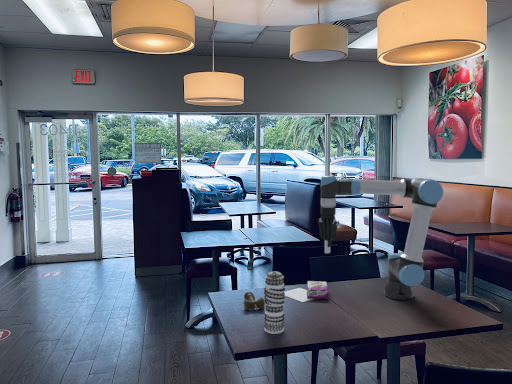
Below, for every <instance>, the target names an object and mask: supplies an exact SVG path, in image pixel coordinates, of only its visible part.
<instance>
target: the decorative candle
mask: <svg viewBox="0 0 512 384" xmlns="http://www.w3.org/2000/svg"><path fill="white" fill-rule="evenodd" d="M264 277H265V286H264V287H263V292H264V293H263V295H264V296H263V299H264V304H265V308H264V310H265V311H264V317H263V319H264V321H263V322H264V324H263V325H264V329H263V330H264V331H265V333H267V334H274V335H275V334H277V335H278V334H281V333H283V332H284V330H285V329H284V328H285V321H284V320H285V314H284V305H285V300H284V299H285V298H286V296H284V295H285V293H284V292H285V291H286V288H285V287H286V285H285V282H284V278H285V276H284V275H283V274H282V273H281V272H280V271H269V272H268V273H266V274H265V276H264Z"/></svg>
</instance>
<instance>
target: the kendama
mask: <svg viewBox="0 0 512 384" xmlns="http://www.w3.org/2000/svg"><path fill="white" fill-rule="evenodd" d="M243 298H244V301H243V307H244V311H245V312H248V311H249V310H252V309H256V310H257V309H260V310H263V311H264V310H265V308H266V304H265V302H264V301H265V299H264V296H263V297H262V296H261V297H260V298H259V299H257V300H256V297H255V296H254V293H253V292H251V291H247V292H245V293H244V295H243Z"/></svg>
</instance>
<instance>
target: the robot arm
mask: <svg viewBox="0 0 512 384" xmlns="http://www.w3.org/2000/svg"><path fill="white" fill-rule="evenodd" d="M360 194H363V195H365V194H366V195H384V196H385V195H386V196H388V195H389V196H399V197H400V198H407V199H411V205H412V206H413V210H412V215H411V219H410V223H409V227H408V232H407V237H406V240H405V241H406V242H405V247H404V251H403V253H398V252H397V253H395V252H394V253H390V254H389V255H388V258H387V282H386V284H385V287H384V289H383V295H384V297H386V296H387V298H389V299H393V300H397V299H399V300H398V301H407V300H406V299H409V300H412V299H413V298H414V291H413V287H416V286H418V285H420V284H422V282H423V281H424V279H425V270H424V269H423V267H424V258H423V257H422V256H423V252H424V248H425V243H426V239H427V234H428V230H429V225H430V221H431V217H432V213H433V211H434V210H436V209H437V206H438V202H440V201H441V200H442V198H443V196H444V189H443V186H442V184H441V183H440V182H438V181H437V180H434V179H432V178H423V177H420V178H411V179H409V178H408V179H407V178H405V179H403V178H401V179H400V180H382V179H361V178H360V179H358V178H356V179H355V178H343V177H342V178H339V179H337V177H336V175H335V176H334V175H323V176H321V178H320V218H318V219H316V221H317V224H318V230H319V231H318V232H319V235H320V239H322V240H323V246H324V254H330V253H331V247H332V241H333V240H335V239H336V236H337V235H336V234H337V230H338V226H339V224H340V221H339V220H336V210H337V209H336V205H337V203H336V202H337V201H336V199H337V198H336V197H337V195H338V196H339V195H340V196H347V195H348V196H355V195H356V196H357V195H360ZM411 298H412V299H411Z"/></svg>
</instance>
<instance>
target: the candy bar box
mask: <svg viewBox="0 0 512 384" xmlns="http://www.w3.org/2000/svg"><path fill="white" fill-rule="evenodd" d="M306 290H307V298H313V300H316V299H318V300H319V299H320V300H321V299H322V300H328V299H329V288H328V282H327V281H321V280H319V281H315V280H306Z"/></svg>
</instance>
